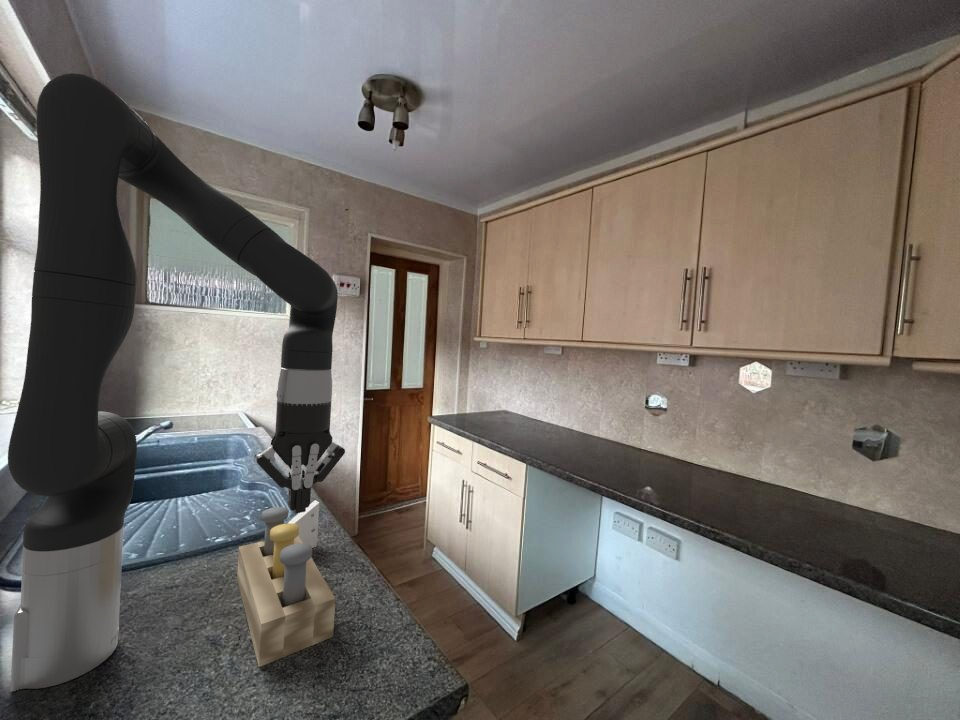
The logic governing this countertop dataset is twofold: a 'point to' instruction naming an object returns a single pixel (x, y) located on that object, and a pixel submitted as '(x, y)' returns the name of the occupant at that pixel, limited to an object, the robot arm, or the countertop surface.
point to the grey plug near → (294, 572)
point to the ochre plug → (282, 545)
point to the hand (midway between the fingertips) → (298, 510)
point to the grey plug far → (272, 525)
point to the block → (263, 601)
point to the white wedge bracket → (308, 524)
